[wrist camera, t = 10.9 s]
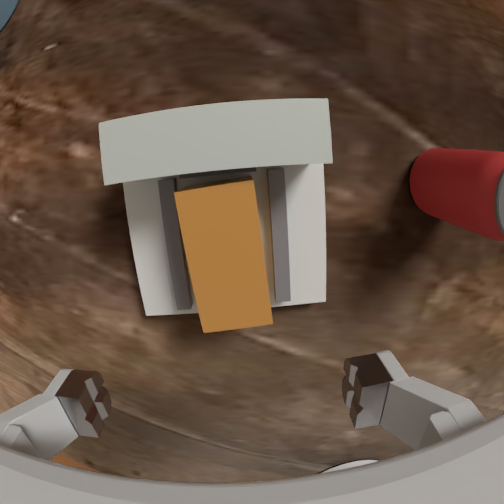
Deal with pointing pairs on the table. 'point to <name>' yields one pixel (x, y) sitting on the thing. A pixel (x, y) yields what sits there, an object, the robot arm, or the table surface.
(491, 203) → the beer can
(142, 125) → the white l-shaped stand
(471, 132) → the table surface
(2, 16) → the cocktail glass
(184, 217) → the cardboard box
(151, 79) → the table surface
